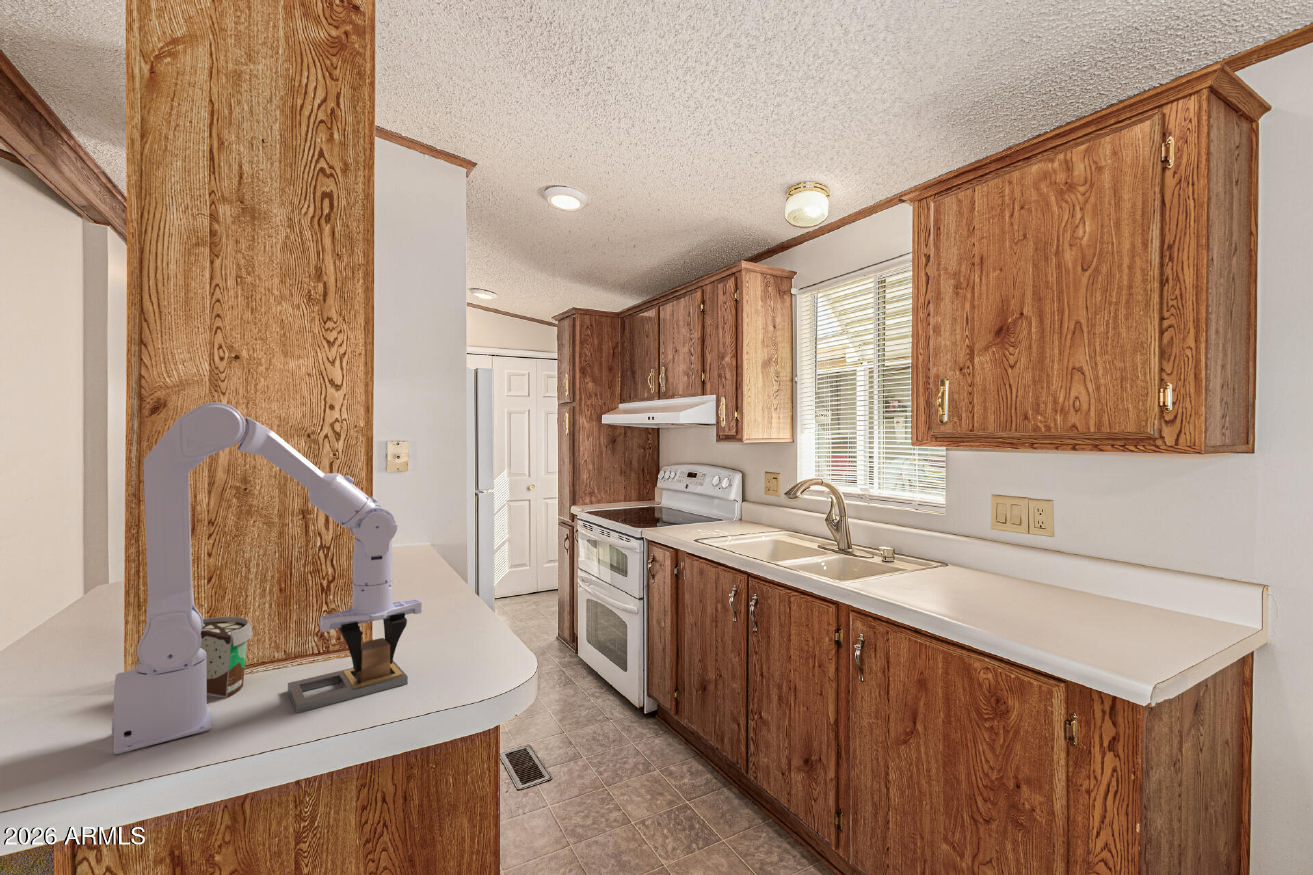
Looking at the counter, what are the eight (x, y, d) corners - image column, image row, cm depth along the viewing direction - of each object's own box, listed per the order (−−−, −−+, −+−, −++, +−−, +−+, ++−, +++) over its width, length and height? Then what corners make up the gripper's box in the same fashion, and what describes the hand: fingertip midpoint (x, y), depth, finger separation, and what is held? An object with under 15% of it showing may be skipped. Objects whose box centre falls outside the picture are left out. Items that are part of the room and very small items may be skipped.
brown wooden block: (362, 689, 89) (362, 650, 89) (356, 680, 92) (356, 643, 92) (390, 682, 91) (390, 644, 91) (383, 673, 94) (383, 637, 94)
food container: (272, 682, 91) (272, 619, 91) (234, 699, 85) (234, 632, 85) (213, 672, 94) (213, 612, 94) (173, 688, 88) (173, 624, 88)
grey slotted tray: (296, 713, 81) (296, 703, 81) (287, 690, 88) (287, 681, 88) (407, 683, 91) (407, 674, 91) (391, 665, 97) (391, 657, 97)
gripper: (326, 595, 84) (326, 687, 84) (427, 579, 93) (427, 662, 93) (317, 584, 89) (317, 671, 89) (414, 570, 98) (414, 649, 98)
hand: (373, 665), depth 91 cm, fingers closed on brown wooden block, 4 cm apart
